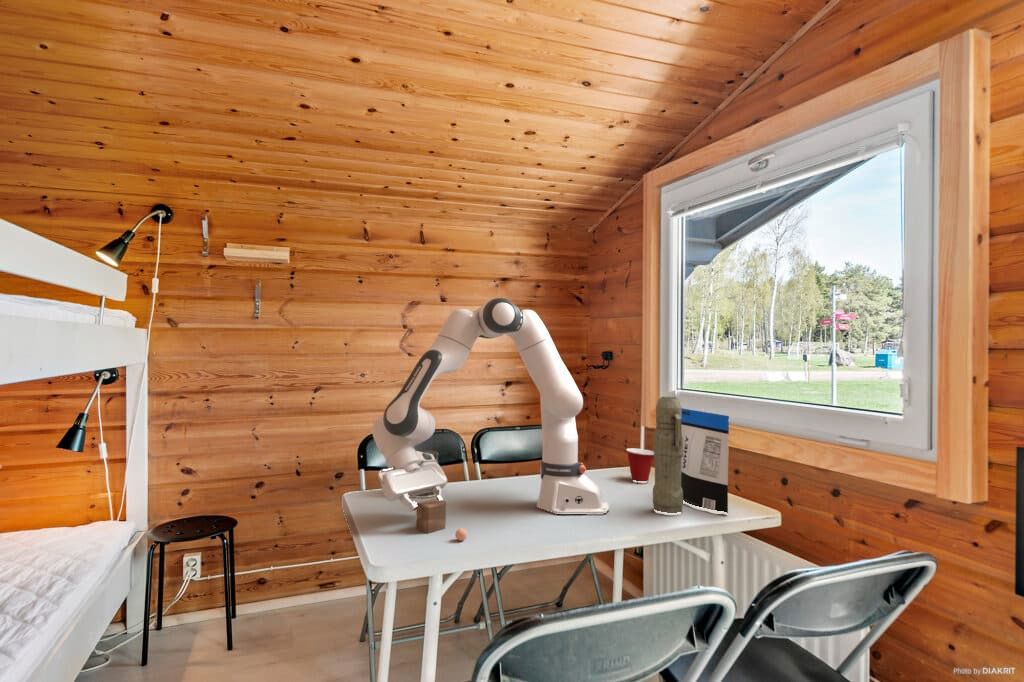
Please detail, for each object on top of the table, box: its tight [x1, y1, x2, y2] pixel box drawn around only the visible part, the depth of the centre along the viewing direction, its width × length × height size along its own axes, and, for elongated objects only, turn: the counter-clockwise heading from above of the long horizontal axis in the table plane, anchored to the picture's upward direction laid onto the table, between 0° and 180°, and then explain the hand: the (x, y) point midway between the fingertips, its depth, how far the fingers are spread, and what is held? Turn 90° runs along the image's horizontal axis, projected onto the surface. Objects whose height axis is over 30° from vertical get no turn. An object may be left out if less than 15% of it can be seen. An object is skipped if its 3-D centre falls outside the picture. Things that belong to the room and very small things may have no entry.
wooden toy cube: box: [415, 498, 447, 534], centre depth 160 cm, size 5×6×7 cm
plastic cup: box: [626, 447, 655, 481], centre depth 219 cm, size 11×11×12 cm
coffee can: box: [410, 449, 439, 499], centre depth 197 cm, size 10×10×14 cm
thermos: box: [652, 396, 684, 513], centre depth 180 cm, size 9×12×35 cm
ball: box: [454, 528, 468, 542], centre depth 151 cm, size 3×3×3 cm
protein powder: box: [681, 407, 730, 514], centre depth 188 cm, size 10×24×30 cm, turn 20°
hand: (427, 506), depth 160 cm, fingers open, 8 cm apart
